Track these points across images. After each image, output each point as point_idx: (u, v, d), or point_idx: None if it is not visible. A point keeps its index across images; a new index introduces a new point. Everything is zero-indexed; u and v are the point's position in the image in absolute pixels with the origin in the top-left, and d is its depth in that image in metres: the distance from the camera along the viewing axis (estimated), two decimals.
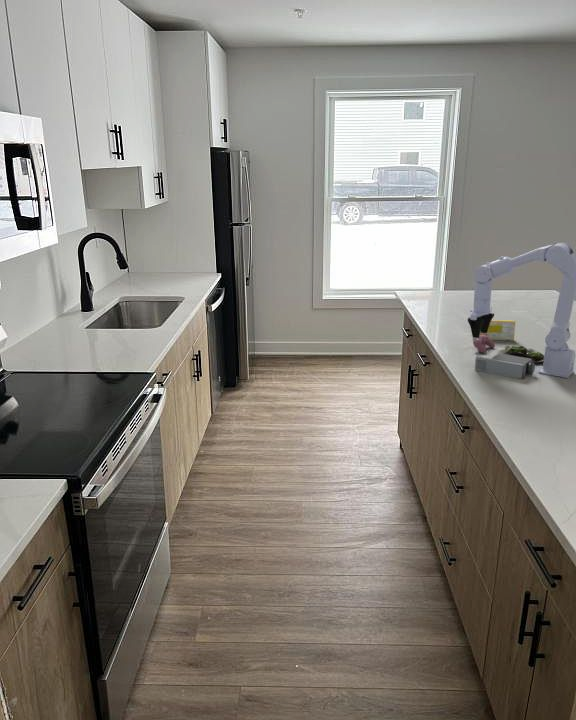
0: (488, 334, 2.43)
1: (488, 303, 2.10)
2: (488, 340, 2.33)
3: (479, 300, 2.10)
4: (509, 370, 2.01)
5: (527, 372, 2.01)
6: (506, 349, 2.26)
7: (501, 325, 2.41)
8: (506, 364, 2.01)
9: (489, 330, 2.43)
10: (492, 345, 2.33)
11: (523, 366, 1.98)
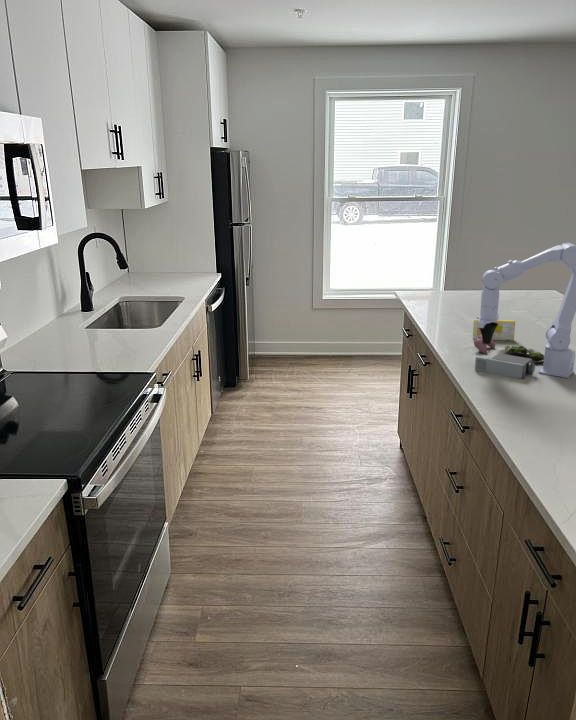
0: None
1: (496, 310, 2.01)
2: None
3: (486, 307, 2.01)
4: (509, 370, 2.01)
5: (527, 372, 2.01)
6: (506, 349, 2.26)
7: (501, 325, 2.41)
8: (506, 364, 2.01)
9: None
10: (493, 345, 2.32)
11: (523, 366, 1.98)
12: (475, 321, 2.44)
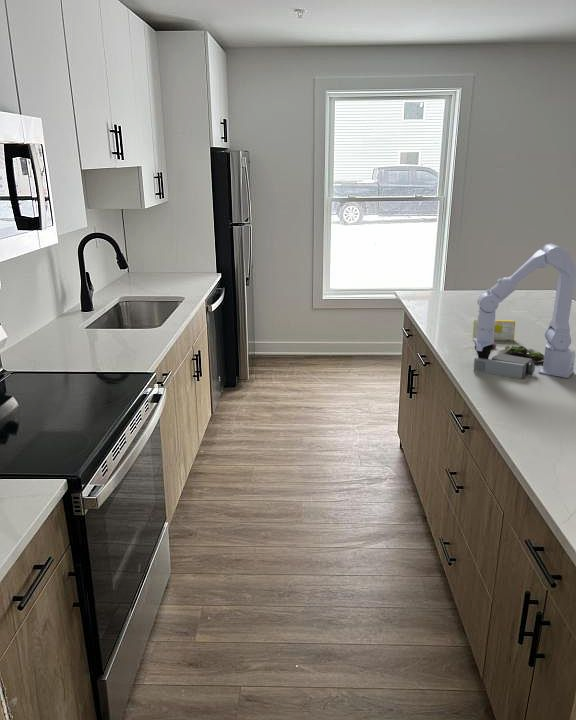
0: None
1: (492, 333, 2.02)
2: None
3: (483, 330, 2.02)
4: (508, 371, 2.01)
5: (527, 372, 2.01)
6: (506, 349, 2.26)
7: (501, 325, 2.41)
8: (505, 364, 2.01)
9: None
10: None
11: (523, 366, 1.98)
12: (475, 321, 2.44)
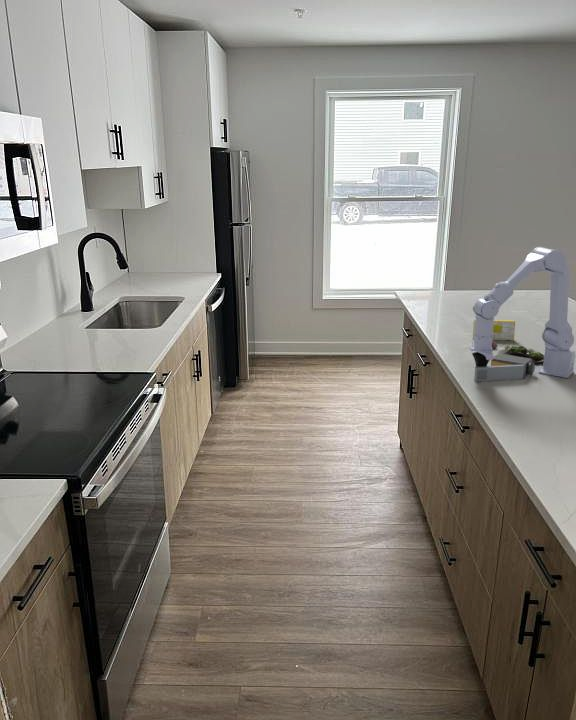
0: None
1: None
2: None
3: (486, 337, 1.93)
4: (510, 374, 1.98)
5: (527, 372, 2.01)
6: (506, 349, 2.26)
7: (501, 325, 2.41)
8: (508, 368, 1.97)
9: None
10: (495, 345, 2.32)
11: (524, 366, 1.98)
12: None
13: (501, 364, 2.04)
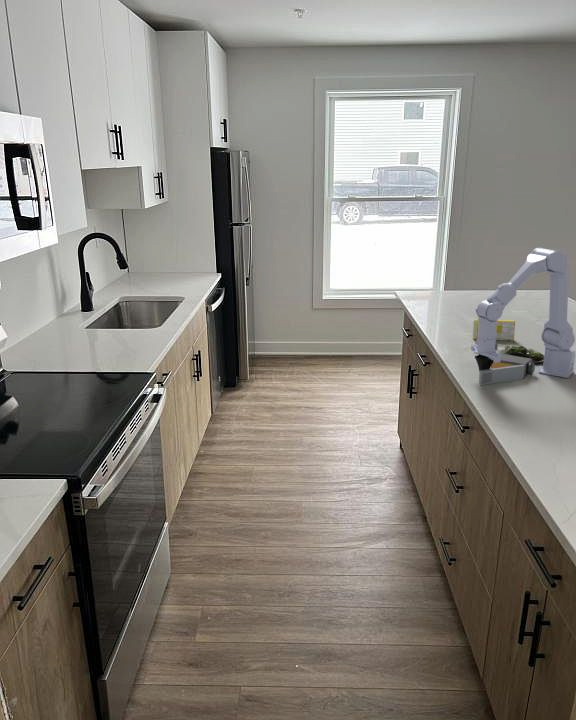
0: None
1: None
2: None
3: (491, 340, 1.90)
4: (512, 375, 1.97)
5: (527, 372, 2.01)
6: (506, 349, 2.26)
7: (501, 325, 2.41)
8: (510, 369, 1.96)
9: None
10: (495, 345, 2.32)
11: (525, 366, 1.98)
12: (475, 321, 2.44)
13: (501, 364, 2.04)
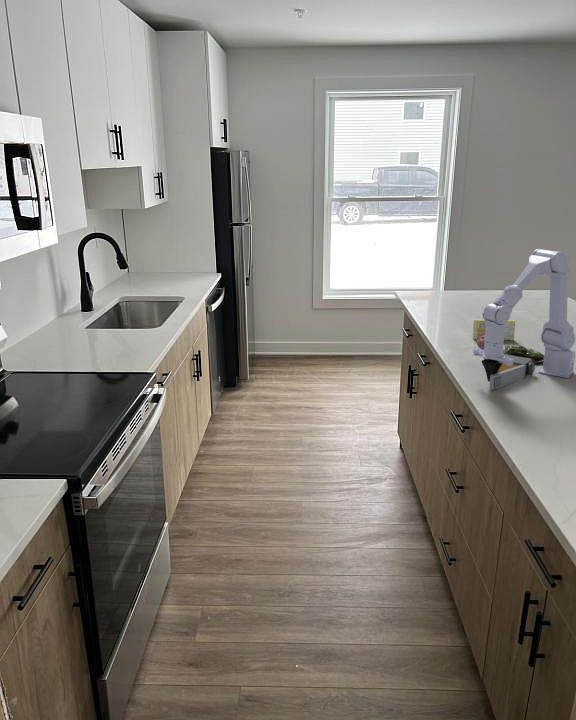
0: None
1: None
2: None
3: (501, 343, 1.87)
4: (516, 376, 1.96)
5: (527, 372, 2.01)
6: (506, 349, 2.26)
7: None
8: (514, 370, 1.95)
9: None
10: None
11: (525, 366, 1.98)
12: (475, 321, 2.44)
13: None
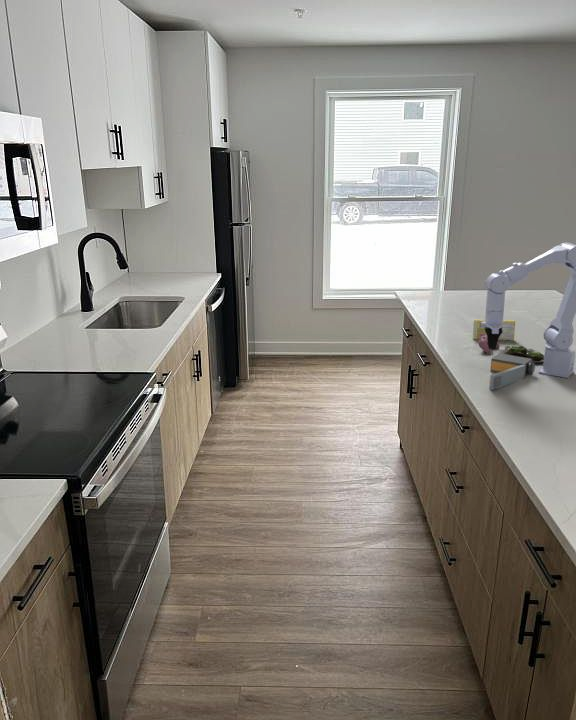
0: None
1: None
2: None
3: (495, 312, 1.95)
4: (516, 376, 1.96)
5: (527, 372, 2.01)
6: (506, 349, 2.26)
7: None
8: (514, 370, 1.95)
9: None
10: (497, 345, 2.32)
11: (525, 366, 1.98)
12: (475, 321, 2.44)
13: (501, 364, 2.04)
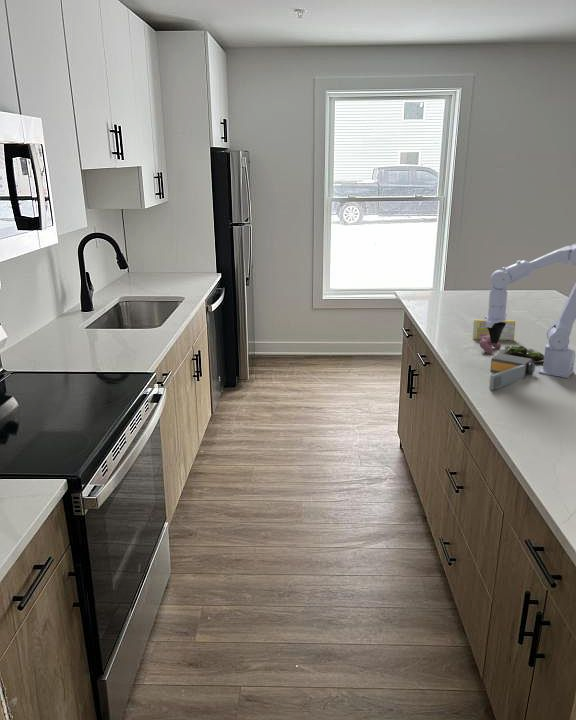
0: (488, 334, 2.43)
1: (504, 310, 2.02)
2: None
3: (494, 307, 2.02)
4: (516, 376, 1.96)
5: (527, 372, 2.01)
6: (506, 349, 2.26)
7: None
8: (514, 370, 1.95)
9: None
10: (498, 346, 2.31)
11: (525, 366, 1.98)
12: (475, 321, 2.44)
13: (501, 364, 2.04)
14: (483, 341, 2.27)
